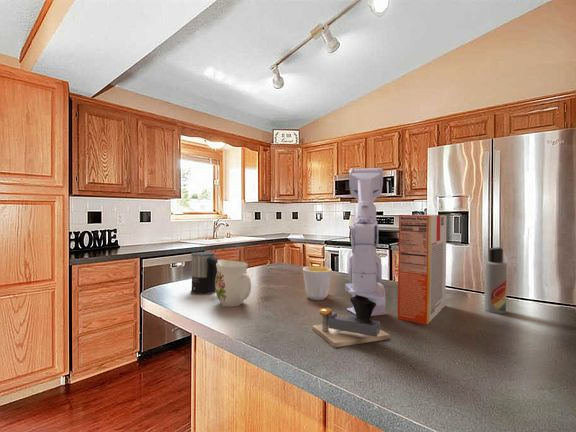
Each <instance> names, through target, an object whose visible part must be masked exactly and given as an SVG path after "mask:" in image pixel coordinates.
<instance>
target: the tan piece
mask: <svg viewBox="0 0 576 432" xmlns="http://www.w3.org/2000/svg"><path fill="white" fill-rule="evenodd" d="M321 316H322V317H321V319H322V320H321V321H322V322H321V323H322V324H314V325H312V330H313V331H314V332H315V333H316V334H317V335H318V336H320V337H321V338H322V339H324V341H325V342H327V343H329V344H330V345H331V346H332V347H333V348H340V347H341V348H342V347H347V346H351V345H352V346H353V345H358V344H364V343H371V342H377V341H383V340H389V339H390V334H389V333H387V332H385V331H384V330H382V329H380V332H379V334H378V335H377V337H375V336H370V335H364V334H359V333H353V332H348V331H342V330H337V329H331V328H329V315H328V316H325V315H321Z"/></svg>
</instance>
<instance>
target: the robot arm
mask: <svg viewBox="0 0 576 432" xmlns="http://www.w3.org/2000/svg"><path fill="white" fill-rule="evenodd" d="M383 170H384V169H383V168H382V167H379V168H378V167H375V168H374V167H371V168H370V167H369V168H368V167H367V168H366V167H365V168H354V167H353V168H352V167H351V168H350V169H349V172H348V173H349V175H348V176H349V177H348V178H349V181H348V182H349V193H350V195H351V197H352V198H355V199H356V201H357V203H356V204H355V205H354V209H353V225H351V226H350V227H351V228H350V243H351V255H350V257H349V258H348V266H347V267H348V268H347V269H348V271H347V273H348V274H347V278H348V280H349V283H345V287H344V288H345V292H348V294H350V295H352V296H351V297H350V298H349V300H350V303H351V304H352V307H348V308H346V311H349V312H350V313H352V314H353V315H355V316H356V317H357V318H363V319H369V320H371V318H372V317H375V316H381V315H387V314H388V312H387V311H386V305H387V304H386V299H387V297H386V295H387V294H386V289H385V287H384V284H382V281H383V280H382V279H383V278H382V277H383V275H382V274H383V269H382V268H383V267H382V258H381V257H380V255H378V254H377V247H378V245H379V225H378V220H377V206H376V205H375V204H374V203H375V201H376V198H380V197H381V195H382V193H383V186H384V171H383ZM375 243H376V245H375ZM350 282H351V283H350Z"/></svg>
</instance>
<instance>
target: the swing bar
mask: <svg viewBox="0 0 576 432" xmlns="http://www.w3.org/2000/svg"><path fill="white" fill-rule="evenodd" d="M319 315H320V316H322V315H325V316H328V315H329V328H331V329H337V330H342V331H348V332H353V333H359V334H364V335H370V336H375V337H377V335H378V334H379V332H380V330H381V329H380V328H381V321H380V320H374V319H370V320H369V319H363V318H357V316H356V317H355V316H349V315H343V314H338V312H337V311H336V312H334V311H333V310H332V309H331V308H329V307H321V308H319Z"/></svg>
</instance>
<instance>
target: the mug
mask: <svg viewBox="0 0 576 432" xmlns="http://www.w3.org/2000/svg"><path fill="white" fill-rule="evenodd" d="M332 271H333V270H332V268H330V267H327V266H305V267H302V275H303V280H304V288H305V294H306V296H307V297H308V299H310V300H314V301H316V300H317V301H322V300H324V299H326V298H327V296H328V295H329V289H330V283H331V277H332Z"/></svg>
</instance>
